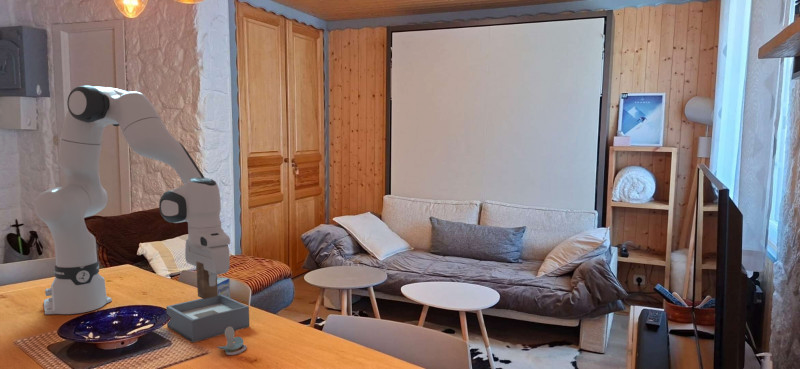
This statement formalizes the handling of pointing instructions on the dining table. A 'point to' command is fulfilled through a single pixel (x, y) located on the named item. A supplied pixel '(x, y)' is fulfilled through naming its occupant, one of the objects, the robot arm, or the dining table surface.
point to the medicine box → (223, 286)
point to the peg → (204, 283)
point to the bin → (207, 317)
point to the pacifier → (232, 343)
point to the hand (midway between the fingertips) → (207, 283)
